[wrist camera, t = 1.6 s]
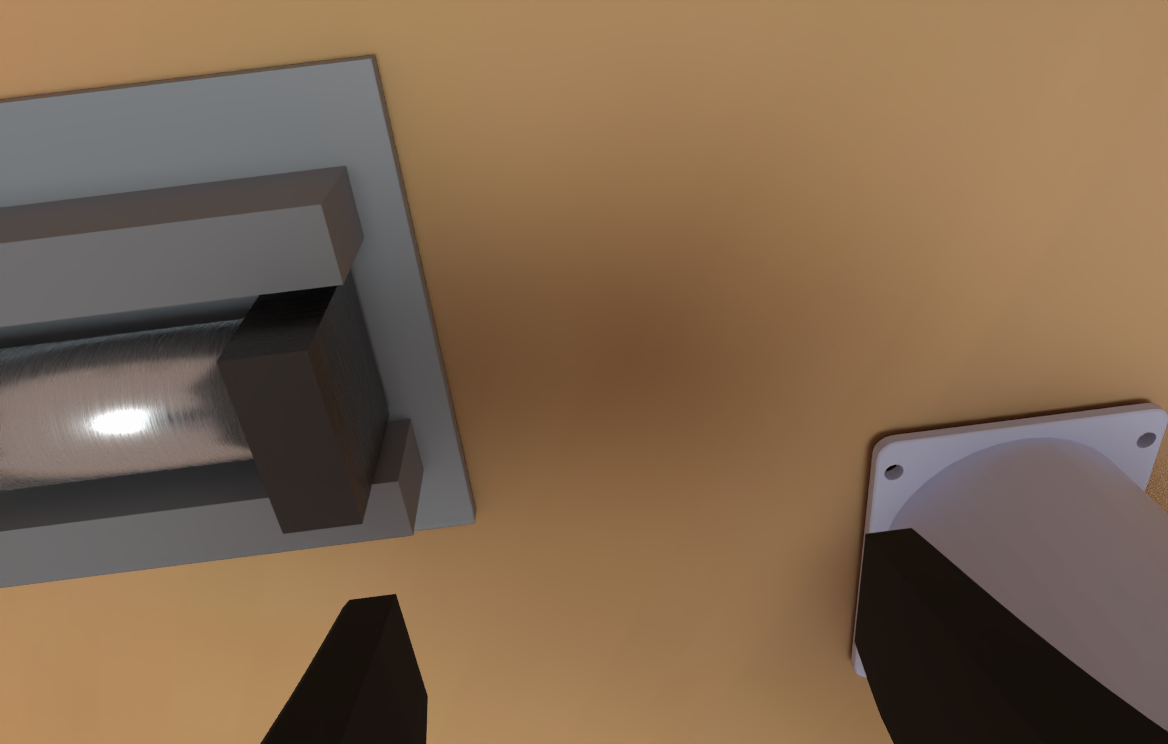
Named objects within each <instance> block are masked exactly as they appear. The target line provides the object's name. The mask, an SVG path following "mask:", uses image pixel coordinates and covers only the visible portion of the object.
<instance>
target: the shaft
mask: <svg viewBox="0 0 1168 744" xmlns="http://www.w3.org/2000/svg"><path fill="white" fill-rule="evenodd" d="M389 415H390V414H389V410H388V407H387V403H386V399H385V396H384V392H383V388H382V384H381V381H380V377H379V373H378V370H377V366H376V362H375V359H374V355H373V351H372V348H371V344H370V340H369V337H368V333H367V329H366V325H365V322H364V318H363V314H362V311H361V307H360V303H359V300H358V296H357V292H356V289H355V285H354V281H353V278H352V274H351V270H350V271H349V273H348V275H347V277H346V280H345V282H344V284H343V285H336V286H328V287H320V288H312V289H304V290H296V291H287V292H279V293H271V294H263V295H259V297H258V298H257V300H256V301H255V303H254V304H253V306H252V307H251V309H250V310H249V312H248V313H247V315H246V317H245V318H244V319H238V320H230V321H222V322H214V323H205V324H197V325H189V326H181V327H173V328H165V329H157V330H149V331H141V332H133V333H125V334H117V335H109V336H101V337H92V338H84V339H76V340H68V341H60V342H52V343H44V344H36V345H28V346H20V347H12V348H4V349H0V491H5V490H13V489H21V488H29V487H37V486H45V485H53V484H61V483H69V482H77V481H85V480H93V479H101V478H108V477H116V476H124V475H132V474H140V473H148V472H156V471H164V470H172V469H180V468H188V467H196V466H204V465H212V464H220V463H227V462H235V461H243V460H251V459H254V461H255V464H256V466H257V469H258V471H259V474H260V476H261V479H262V482H263V484H264V487H265V489H266V492H267V494H268V497H269V500H270V502H271V505H272V507H273V510H274V512H275V515H276V518H277V520H278V523H279V525H280V528H281V530H282V533H283V534H287V533H295V532H303V531H311V530H319V529H327V528H334V527H342V526H350V525H358V524H363V520H364V516H365V512H366V508H367V504H368V500H369V496H370V492H371V488H372V484H373V479H374V475H375V471H376V467H377V463H378V459H379V455H380V451H381V447H382V443H383V439H384V435H385V431H386V427H387V423H388V419H389Z"/></svg>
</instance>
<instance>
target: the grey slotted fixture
mask: <svg viewBox="0 0 1168 744" xmlns="http://www.w3.org/2000/svg"><path fill="white" fill-rule="evenodd" d="M350 270H351V274H352V278H353V281H354V285H355V289H356V292H357V296H358V300H359V303H360V307H361V311H362V314H363V318H364V322H365V325H366V329H367V333H368V337H369V340H370V344H371V348H372V351H373V355H374V359H375V362H376V366H377V370H378V373H379V377H380V381H381V384H382V388H383V392H384V396H385V399H386V403H387V407H388V410H389V414H390V415H389V419H388V423H387V427H386V431H385V435H384V439H383V443H382V447H381V451H380V455H379V459H378V463H377V467H376V471H375V475H374V479H373V484H372V488H371V492H370V496H369V500H368V504H367V508H366V512H365V516H364V520H363V524H358V525H350V526H342V527H334V528H327V529H319V530H311V531H303V532H295V533H287V534H283V533H282V530H281V528H280V525H279V523H278V520H277V518H276V515H275V512H274V510H273V507H272V505H271V502H270V500H269V497H268V494H267V492H266V489H265V487H264V484H263V482H262V479H261V476H260V474H259V471H258V469H257V466H256V464H255V461H254V459H251V460H243V461H235V462H227V463H220V464H212V465H204V466H196V467H188V468H180V469H172V470H164V471H156V472H148V473H140V474H132V475H124V476H116V477H108V478H101V479H93V480H85V481H77V482H69V483H61V484H53V485H45V486H37V487H29V488H21V489H13V490H5V491H0V588H4V587H12V586H20V585H28V584H35V583H43V582H51V581H59V580H67V579H75V578H83V577H90V576H98V575H106V574H114V573H122V572H130V571H137V570H145V569H153V568H161V567H169V566H177V565H184V564H192V563H200V562H208V561H216V560H224V559H231V558H239V557H247V556H255V555H263V554H271V553H279V552H286V551H294V550H302V549H310V548H318V547H326V546H333V545H341V544H349V543H357V542H365V541H373V540H380V539H388V538H396V537H404V536H412V535H413V534H414V531H420V530H428V529H435V528H443V527H451V526H459V525H467V524H475V520H476V509H475V504H474V500H473V495H472V491H471V486H470V482H469V477H468V473H467V468H466V464H465V459H464V455H463V450H462V446H461V441H460V437H459V432H458V428H457V423H456V419H455V414H454V410H453V405H452V401H451V396H450V392H449V387H448V382H447V378H446V373H445V369H444V364H443V360H442V355H441V351H440V346H439V342H438V337H437V333H436V328H435V324H434V319H433V315H432V310H431V306H430V301H429V297H428V292H427V288H426V283H425V279H424V274H423V270H422V265H421V260H420V256H419V251H418V247H417V242H416V238H415V233H414V229H413V224H412V220H411V215H410V211H409V206H408V202H407V197H406V193H405V188H404V184H403V179H402V175H401V170H400V166H399V161H398V157H397V152H396V148H395V143H394V139H393V134H392V129H391V125H390V120H389V116H388V111H387V107H386V102H385V98H384V93H383V89H382V84H381V80H380V75H379V71H378V66H377V62H376V57H375V55H367V56H358V57H350V58H342V59H333V60H325V61H317V62H308V63H300V64H292V65H283V66H275V67H267V68H258V69H250V70H242V71H233V72H225V73H217V74H208V75H200V76H192V77H183V78H175V79H167V80H158V81H150V82H142V83H133V84H125V85H117V86H108V87H100V88H92V89H83V90H75V91H67V92H59V93H50V94H42V95H34V96H25V97H17V98H9V99H0V349H4V348H12V347H20V346H28V345H36V344H44V343H52V342H60V341H68V340H76V339H84V338H92V337H101V336H109V335H117V334H125V333H133V332H141V331H149V330H157V329H165V328H173V327H181V326H189V325H197V324H205V323H214V322H222V321H230V320H238V319H244V318H245V317H246V315H247V313H248V312H249V310H250V309H251V307H252V306H253V304H254V303H255V301H256V300H257V298H258V297H259V295H263V294H271V293H279V292H287V291H296V290H304V289H312V288H320V287H328V286H336V285H343V284H344V282H345V280H346V277H347V275H348V273H349V271H350Z"/></svg>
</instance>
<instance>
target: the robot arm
mask: <svg viewBox="0 0 1168 744" xmlns="http://www.w3.org/2000/svg"><path fill="white" fill-rule="evenodd" d="M1167 423H1168V414H1167V412H1166V411H1164V410H1163V409H1162V408H1161V407H1159V406H1158V405H1156V404H1154V403H1143V404H1135V405H1127V406H1119V407H1111V408H1103V409H1095V410H1087V411H1080V412H1072V413H1064V414H1056V415H1048V416H1040V417H1032V418H1024V419H1017V420H1009V421H1001V422H993V423H985V424H977V425H969V426H961V427H954V428H946V429H938V430H930V431H922V432H914V433H906V434H898V435H891V436H888V437H885V438H883V439H882V440H880V441H879V442H878V443H877V444H876V445H875V447H874V449H873V452H872V462H871V472H870V482H869V491H868V501H867V511H866V520H865V530H864V540H863V550H862V559H861V569H860V579H859V589H858V598H857V608H856V618H855V628H854V637H853V647H852V657H851V663H852V666H853V669H854V671H855V673H856V674H857V675H859V676H862V677H867V680H868V682H869V685H870V688H871V691H872V693H873V696H874V699H875V702H876V704H877V707H878V710H879V713H880V715H881V718H882V720H883V722H884V724H885V726H886V728H887V730H888V732H889V734H890V737H891V739H892V741H893V743H894V744H1168V513H1166V512H1165V511H1164V510H1163V509H1162V508H1161V507H1160V506H1159V505H1158V504H1157V503H1156V502H1155V501H1154V500H1153V499H1152V498H1150V497H1149V496H1148V495H1147V494H1146V493H1145V490H1146V487H1147V484H1148V481H1149V478H1150V475H1151V472H1152V469H1153V466H1154V463H1155V460H1156V457H1157V454H1158V451H1159V448H1160V445H1161V442H1162V439H1163V436H1164V432H1165V429H1166V426H1167ZM1143 434H1144V435H1143ZM1142 435H1143V436H1142ZM1140 436H1142V437H1140ZM1139 437H1140V438H1139ZM892 465H896V467H895V468H894V469H892V470H890V471H886V469H887V468H888V467H890V466H892ZM427 700H428V696H427V693H426V690H425V687H424V683H423V680H422V677H421V674H420V670H419V667H418V664H417V661H416V657H415V654H414V651H413V648H412V644H411V641H410V638H409V635H408V631H407V628H406V625H405V622H404V619H403V615H402V612H401V609H400V606H399V602H398V599H397V596H396V594H392V595H384V596H377V597H369V598H361V599H353V600H349V601H348V602H347V603H346V605H345V606H344V607H343V608H342V610H341V612H340V614H339V615H338V617H337V619H336V621H335V622H334V624H333V626H332V628H331V629H330V631H329V633H328V634H327V636H326V638H325V640H324V641H323V643H322V645H321V647H320V648H319V650H318V652H317V653H316V655H315V657H314V658H313V660H312V662H311V664H310V665H309V667H308V669H307V670H306V672H305V674H304V675H303V677H302V678H301V680H300V682H299V683H298V685H297V687H296V688H295V690H294V692H293V693H292V695H291V697H290V698H289V700H288V701H287V703H286V705H285V706H284V708H283V709H282V711H281V712H280V714H279V715H278V717H277V719H276V720H275V722H274V723H273V725H272V726H271V728H270V729H269V731H268V733H267V734H266V736H265V737H264V739H263V740H262V742H261V744H426V732H427Z"/></svg>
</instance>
